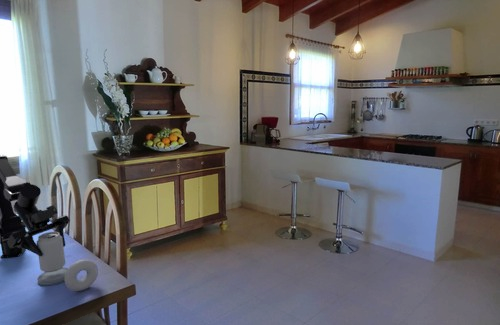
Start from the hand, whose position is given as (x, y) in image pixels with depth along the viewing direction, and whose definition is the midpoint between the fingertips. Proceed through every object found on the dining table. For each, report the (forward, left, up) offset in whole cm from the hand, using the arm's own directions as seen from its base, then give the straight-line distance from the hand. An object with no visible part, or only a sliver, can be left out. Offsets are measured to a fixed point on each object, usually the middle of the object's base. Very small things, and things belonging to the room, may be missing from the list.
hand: (53, 250), depth 114 cm
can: (-1, +1, -7) cm, 7 cm away
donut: (+11, -9, -10) cm, 17 cm away
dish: (-1, +1, -10) cm, 10 cm away
